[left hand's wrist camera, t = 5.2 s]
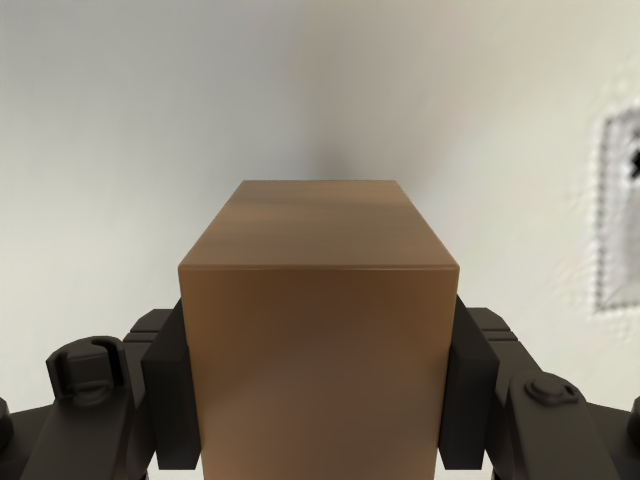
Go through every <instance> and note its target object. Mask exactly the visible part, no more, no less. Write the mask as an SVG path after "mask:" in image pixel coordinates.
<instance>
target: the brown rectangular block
mask: <svg viewBox="0 0 640 480" xmlns="http://www.w3.org/2000/svg"><path fill="white" fill-rule="evenodd" d="M459 271H460V267H459V265H458V264H457V262H456V261H455V260H454V258H453V257H452V256H451V254H450V253H449V252H448V250H447V249H446V248H445V246H444V245H443V244H442V242H441V241H440V240H439V238H438V237H437V236H436V234H435V233H434V232H433V230H432V229H431V228H430V226H429V225H428V224H427V222H426V221H425V220H424V218H423V217H422V216H421V214H420V213H419V212H418V210H417V209H416V208H415V206H414V205H413V204H412V202H411V201H410V200H409V198H408V197H407V196H406V194H405V193H404V192H403V190H402V189H401V188H400V186H399V185H398V184H397V182H396V181H243V182H242V183H241V184H240V186H239V187H238V188H237V190H236V191H235V192H234V194H233V195H232V196H231V197H230V199H229V200H228V201H227V203H226V204H225V205H224V207H223V208H222V209H221V211H220V212H219V213H218V214H217V216H216V217H215V218H214V220H213V221H212V222H211V224H210V225H209V226H208V228H207V229H206V230H205V231H204V233H203V234H202V235H201V237H200V238H199V239H198V241H197V242H196V243H195V245H194V246H193V247H192V248H191V250H190V251H189V252H188V254H187V255H186V256H185V258H184V259H183V260H182V262H181V263H180V264H179V266H178V276H179V284H180V292H181V299H182V307H183V315H184V323H185V331H186V339H187V345H188V348H189V356H190V364H191V372H192V380H193V389H194V397H195V405H196V413H197V421H198V429H199V437H200V445H201V459H202V467H203V475H204V480H434V474H435V466H436V458H437V449H438V441H439V433H440V425H441V417H442V409H443V401H444V393H445V385H446V377H447V368H448V360H449V352H450V344H451V336H452V328H453V320H454V312H455V304H456V295H457V287H458V279H459Z"/></svg>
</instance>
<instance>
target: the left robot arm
mask: <svg viewBox="0 0 640 480" xmlns="http://www.w3.org/2000/svg"><path fill="white" fill-rule="evenodd" d="M46 365H47V369H48V373H49V377H50V380H51V384H52V388H53V392H54V396H55V400H54V403H53V404H51V405H48V406H44V407H40V408H35V409H30V410H25V411H21V412H16V413H11V414H10V413H9V409H8V406H7V403H6V401H5V400H3V399H2V398H1V397H0V480H149V477H148V472H147V468H148V466H149V464H150V461H151V459H152V457H153V455H154V452H155V450H156V455H157V461H158V467H159V470H195V468H196V465H197V462H198V459H199V456H200V453H201V445H200V437H199V429H198V421H197V413H196V405H195V397H194V389H193V380H192V372H191V364H190V356H189V348H188V345H187V339H186V331H185V323H184V315H183V307H182V299H181V298H180V299H179V301H178V303H177V304H176V306H175V307H174V309H153V310H152V311H150V312H149V313H147V314H146V315H144V316H143V317H141V318H140V319H138V321H137V322H136V323H135V325H134V326H133V327H132V329H131V330H130V333H128V334H127V335H126V337H125V338H124V339H123V342H122V341H121V340H119V339H118V338H115V337H111V336H92V337H88V338H83V339H79V340H76V341H74V342H71V343H69V344H66V345H64V346H63V347H61V348H59V349H58V350H56V351H55V352H53V353H52V354H51V355H50V357H49V358H48V359H47V360H46ZM438 449H439V452H440V455H441V458H442V461H443V464H444V467H445V470H481V469H482V463H483V457H484V451H485V449H486V452H487V454H488V456H489V458H490V461H491V463H492V465H493V472H492V477H491V480H640V396H639V397H638V398H636V399H635V401H634V404H633V407H632V411H631V412H628V411H624V410H619V409H614V408H610V407H605V406H600V405H596V404H592V403H589V402H586V399H585V398H584V396H583V395H582V393H581V392H580V391H579V389H578V388H576V387H575V386H574V385H572V384H571V383H570V382H568V381H567V380H565V379H563V378H561V377H559V376H556V375H554V374H551V373H547V372H543V371H542V370H541V368H540V367H539V366H538V365H537V363H536V362H535V361H534V359H533V358H532V357H531V355H530V354H529V353H528V351H527V350H526V349H525V347H524V346H523V345H522V344H521V342H520V341H518V338H517V337H516V336H515V334H514V333H513V332H511V329H510V328H509V327H508V325H507V324H506V323H505V321H504V320H503V319H502V318H501V317H500V316H498V315H497V314H495V313H494V312H492V311H491V310H489V309H488V308H466V307H465V305H464V304H463V302H462V301H461V299H460V297H459V296H458V294H457V295H456V304H455V312H454V320H453V328H452V336H451V344H450V352H449V360H448V368H447V377H446V385H445V393H444V401H443V409H442V417H441V425H440V433H439V441H438Z"/></svg>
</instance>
